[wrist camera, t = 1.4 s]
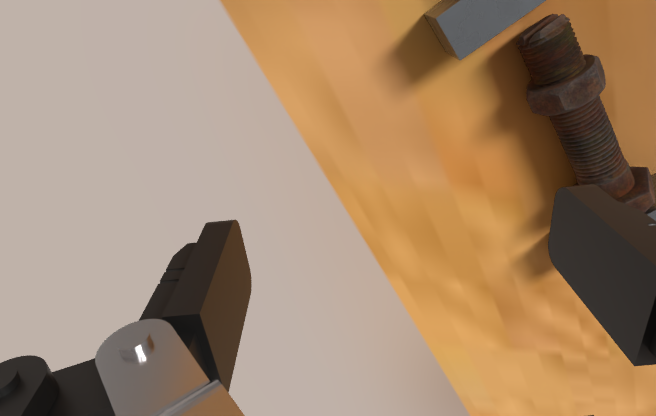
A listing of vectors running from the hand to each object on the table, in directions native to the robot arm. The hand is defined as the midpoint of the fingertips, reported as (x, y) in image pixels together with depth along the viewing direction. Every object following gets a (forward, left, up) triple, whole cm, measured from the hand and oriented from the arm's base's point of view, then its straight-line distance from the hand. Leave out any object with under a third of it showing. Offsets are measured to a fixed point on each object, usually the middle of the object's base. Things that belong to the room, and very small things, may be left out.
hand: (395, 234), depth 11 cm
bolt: (-11, +12, -23) cm, 28 cm away
